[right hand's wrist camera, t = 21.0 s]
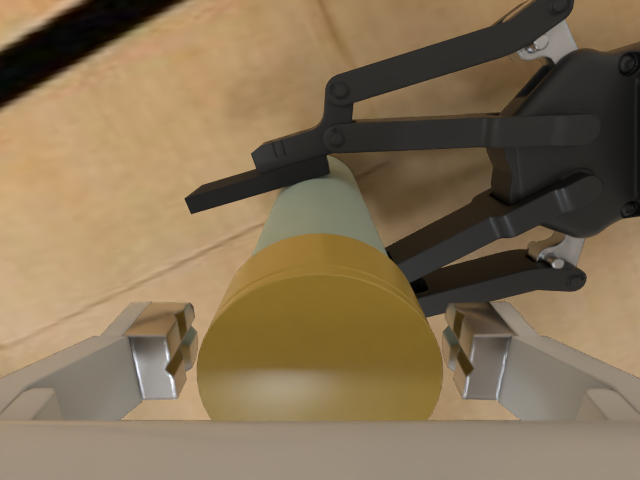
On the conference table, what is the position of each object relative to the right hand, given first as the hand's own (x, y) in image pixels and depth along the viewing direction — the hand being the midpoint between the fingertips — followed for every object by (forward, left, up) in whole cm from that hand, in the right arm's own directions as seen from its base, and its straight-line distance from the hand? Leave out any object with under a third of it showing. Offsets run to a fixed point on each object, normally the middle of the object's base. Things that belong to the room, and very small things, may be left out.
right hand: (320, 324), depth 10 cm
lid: (0, 0, +2) cm, 2 cm away
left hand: (-3, -4, -9) cm, 10 cm away
